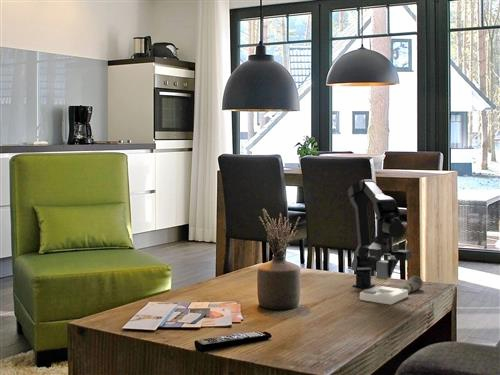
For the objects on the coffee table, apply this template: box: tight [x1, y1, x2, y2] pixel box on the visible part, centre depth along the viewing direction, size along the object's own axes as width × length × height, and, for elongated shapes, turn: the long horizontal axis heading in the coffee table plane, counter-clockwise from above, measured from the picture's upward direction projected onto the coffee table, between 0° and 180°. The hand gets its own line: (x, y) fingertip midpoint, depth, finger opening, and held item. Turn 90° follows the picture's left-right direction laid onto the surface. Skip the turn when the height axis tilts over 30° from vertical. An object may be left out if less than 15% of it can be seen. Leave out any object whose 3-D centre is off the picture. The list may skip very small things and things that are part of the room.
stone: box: [402, 275, 424, 294], centre depth 263 cm, size 10×5×8 cm
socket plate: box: [359, 285, 409, 305], centre depth 251 cm, size 14×12×3 cm
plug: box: [375, 259, 392, 283], centre depth 250 cm, size 4×4×7 cm
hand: (383, 276), depth 251 cm, fingers closed on plug, 4 cm apart
